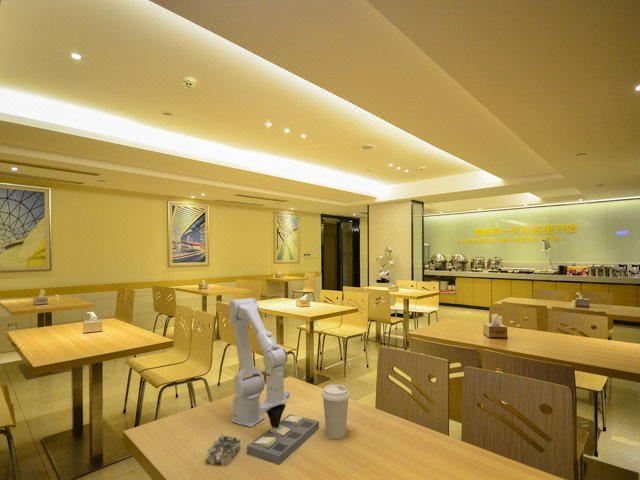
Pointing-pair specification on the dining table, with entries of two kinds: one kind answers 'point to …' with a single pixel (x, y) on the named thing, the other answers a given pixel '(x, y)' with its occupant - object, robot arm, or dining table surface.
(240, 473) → the dining table surface
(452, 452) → the dining table surface
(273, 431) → the rocker middle
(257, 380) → the robot arm
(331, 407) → the coffee cup
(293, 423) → the labelled cream tile
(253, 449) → the grey rocker switch panel
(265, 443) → the rocker carton end
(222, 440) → the egg carton
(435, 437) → the dining table surface
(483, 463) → the dining table surface
